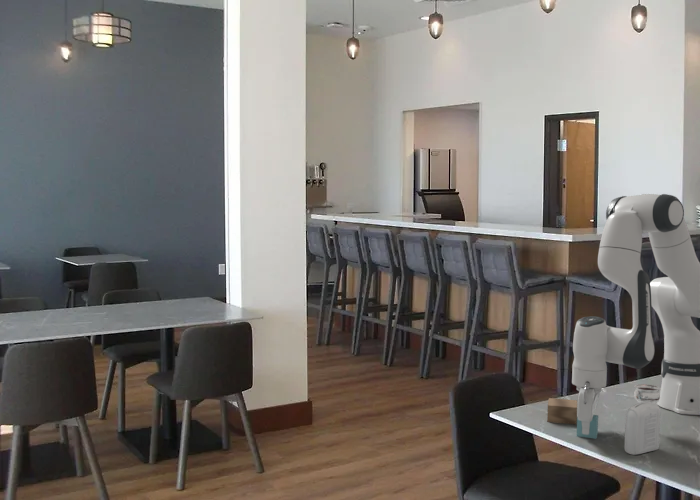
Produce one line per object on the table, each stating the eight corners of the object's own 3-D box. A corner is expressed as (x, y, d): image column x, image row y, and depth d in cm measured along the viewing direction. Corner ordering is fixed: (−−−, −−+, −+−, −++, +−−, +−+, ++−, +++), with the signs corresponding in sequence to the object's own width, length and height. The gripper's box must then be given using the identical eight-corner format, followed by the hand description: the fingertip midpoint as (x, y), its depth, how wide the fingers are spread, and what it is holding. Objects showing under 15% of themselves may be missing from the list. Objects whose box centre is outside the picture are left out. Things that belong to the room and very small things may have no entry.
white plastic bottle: (647, 444, 205) (649, 398, 204) (661, 449, 202) (663, 401, 201) (621, 452, 200) (623, 403, 199) (636, 456, 196) (637, 407, 195)
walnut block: (576, 417, 230) (577, 400, 230) (576, 425, 222) (577, 407, 222) (548, 414, 232) (548, 398, 232) (547, 422, 225) (547, 405, 224)
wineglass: (627, 428, 219) (628, 385, 218) (646, 425, 222) (648, 383, 221) (644, 435, 213) (645, 391, 212) (664, 432, 215) (666, 389, 214)
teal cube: (597, 433, 215) (598, 415, 214) (596, 438, 210) (596, 420, 210) (578, 431, 217) (579, 413, 216) (576, 436, 212) (577, 418, 211)
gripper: (598, 388, 201) (596, 441, 202) (604, 371, 220) (602, 419, 221) (572, 385, 204) (571, 438, 205) (580, 368, 222) (579, 417, 224)
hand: (587, 428), depth 213 cm, fingers open, 8 cm apart
